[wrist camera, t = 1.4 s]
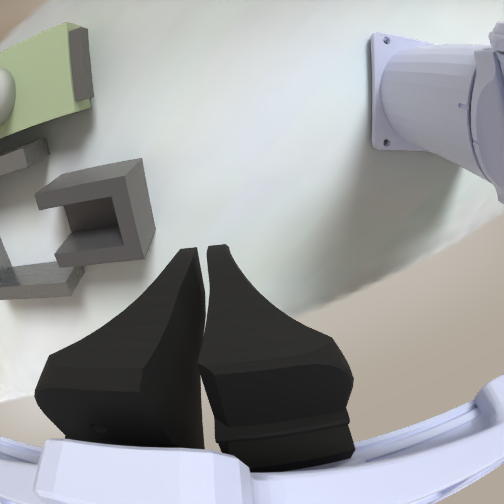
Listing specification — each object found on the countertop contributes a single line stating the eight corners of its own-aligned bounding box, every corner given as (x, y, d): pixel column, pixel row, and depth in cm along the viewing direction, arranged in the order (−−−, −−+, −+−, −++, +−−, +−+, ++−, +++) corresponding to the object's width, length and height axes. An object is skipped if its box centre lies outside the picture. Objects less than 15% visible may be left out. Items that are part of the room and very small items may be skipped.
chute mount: (46, 137, 16) (23, 148, 14) (84, 272, 22) (71, 295, 19) (-31, 167, 16) (-54, 180, 13) (8, 279, 21) (-7, 300, 19)
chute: (142, 157, 18) (124, 175, 15) (156, 227, 21) (144, 258, 17) (62, 173, 18) (34, 194, 14) (80, 238, 20) (59, 267, 17)
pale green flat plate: (94, 23, 13) (63, 12, 9) (102, 104, 16) (71, 112, 12) (-34, 83, 12) (-71, 91, 9) (-24, 149, 15) (-60, 168, 12)
